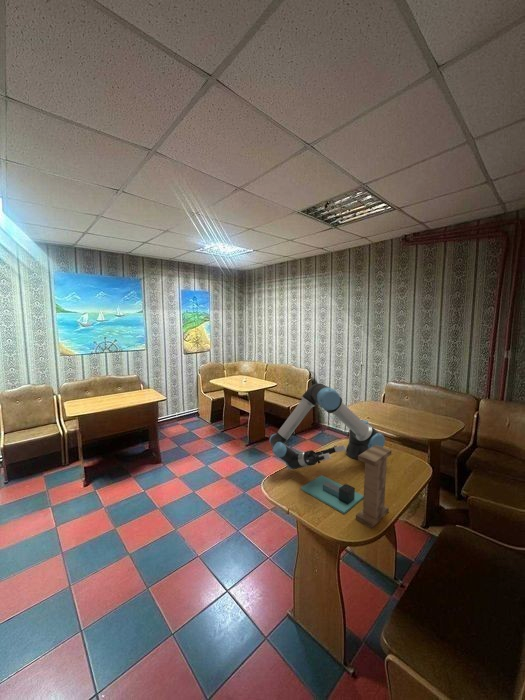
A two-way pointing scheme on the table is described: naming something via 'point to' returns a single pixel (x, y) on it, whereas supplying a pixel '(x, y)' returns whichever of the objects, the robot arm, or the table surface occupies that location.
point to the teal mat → (317, 491)
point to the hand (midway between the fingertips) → (337, 451)
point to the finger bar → (340, 492)
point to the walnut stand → (374, 485)
